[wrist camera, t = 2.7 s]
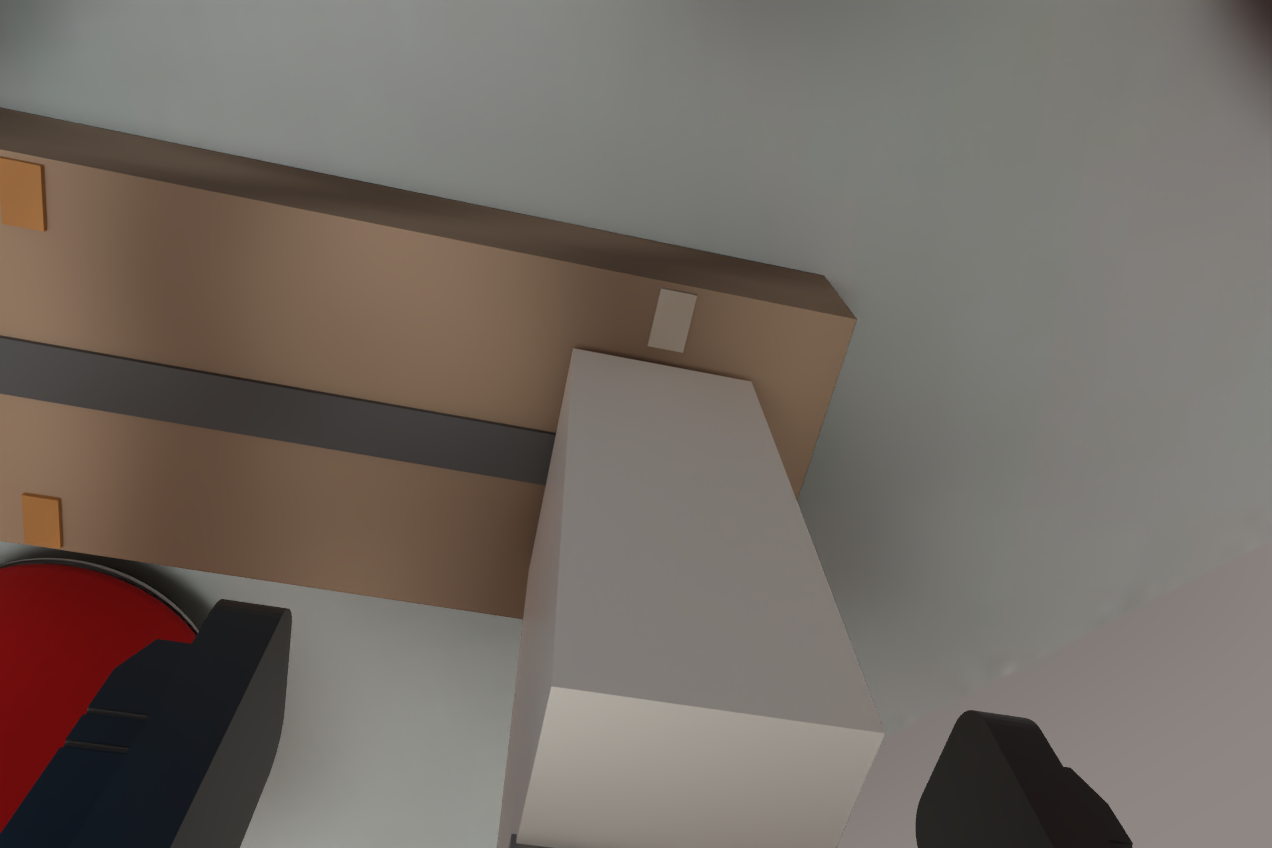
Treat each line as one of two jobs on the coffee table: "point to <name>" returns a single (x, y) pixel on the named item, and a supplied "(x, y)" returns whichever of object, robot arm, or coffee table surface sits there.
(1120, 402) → the coffee table surface
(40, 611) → the beverage can
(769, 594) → the fader knob
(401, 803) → the coffee table surface
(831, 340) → the fader strip
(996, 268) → the coffee table surface
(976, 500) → the coffee table surface
